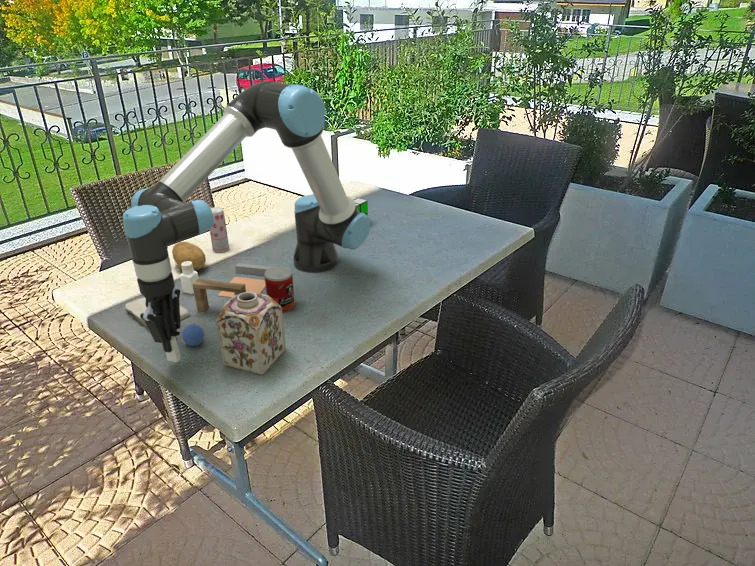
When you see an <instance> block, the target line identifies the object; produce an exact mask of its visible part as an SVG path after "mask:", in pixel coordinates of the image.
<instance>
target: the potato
mask: <svg viewBox="0 0 755 566" xmlns="http://www.w3.org/2000/svg"><path fill="white" fill-rule="evenodd" d="M171 250H172V251H171V253H172V254H171V255H172V259H173V260H174V262H175V264H176V265H177V267H179V268H181V269H182V266H181V264H182V263H183V262H186V261H191V262H192V265H193V271H197V270H199V269H201V268H203V267H204V265H205V264H206V262H207V259H206V254H205V252H204V251H203V249H201V248H200V247H199V246H198V245H197V244H193V243H190V242H188V241H178V242H175V243H174V245H173V247H172V249H171Z"/></svg>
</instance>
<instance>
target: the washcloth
mask: <svg viewBox="0 0 755 566" xmlns="http://www.w3.org/2000/svg"><path fill="white" fill-rule="evenodd" d="M145 303H146V298H145V297H144V296H143V297H141V298H140V297H139V298H136V299H134V300H132V301H129V302H127V303H125V307H124V309H125V311H126V312H128V313H129V314H130V316H131V317H132V318H134V319H135V320H136V321H137V322H139V323H140V324H141V325H142V326H144V327H145V328H146V329H147V330H148V331H149V329H148V327H147V325H146V323H145V321H144V320H142V319H141V318H140V315H141V313H145V311H146V309H147V307H146V305H145ZM190 316H191V313H190V311H189V310H188V309H186V308H185V307H184V306H182V304H180V321H183V320H184V319H187V318H189V317H190Z"/></svg>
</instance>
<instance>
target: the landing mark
mask: <svg viewBox="0 0 755 566" xmlns="http://www.w3.org/2000/svg"><path fill="white" fill-rule="evenodd" d="M229 282H230V283H239V284H245V287H246V292H256V293H260V294H262V292H263V291H264V290H265V289H266V284H265V279H259V278H258V279H257V278H256V279H255V278H248V277H239V276H234V277H233V278H232V279H231V280H230V281H229ZM233 296H235V294H234V292H226V291H219V293H218V294H217V297H225V298H232V297H233Z"/></svg>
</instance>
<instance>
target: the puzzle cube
mask: <svg viewBox="0 0 755 566" xmlns="http://www.w3.org/2000/svg"><path fill="white" fill-rule="evenodd" d="M346 196H347V197H349V198H351V199H353V201H354V202H355V204H356V207H357V209H358V211H359V212H360V213H364V214H366V215H367V216H368V217H369V215H368V214H369V208H368V207H369V206H368V205H369V202H368V200H366V199H362V198H359V197H355V196H350V195H346Z"/></svg>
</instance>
